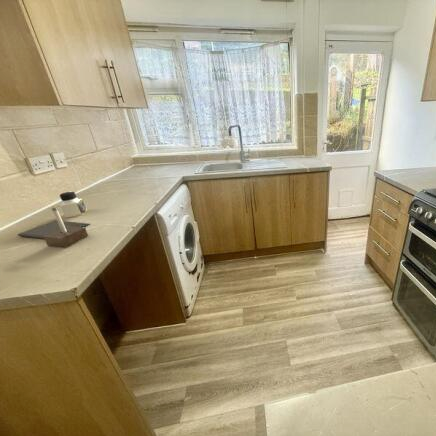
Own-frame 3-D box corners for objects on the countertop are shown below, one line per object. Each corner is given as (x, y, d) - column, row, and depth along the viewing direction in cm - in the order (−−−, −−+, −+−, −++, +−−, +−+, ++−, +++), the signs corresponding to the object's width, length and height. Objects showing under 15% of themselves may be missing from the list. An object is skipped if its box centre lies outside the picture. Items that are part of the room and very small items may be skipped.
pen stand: (65, 248, 95) (61, 238, 93) (47, 246, 97) (42, 236, 95) (89, 237, 103) (85, 227, 102) (71, 235, 106) (67, 225, 104)
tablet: (56, 240, 101) (55, 238, 101) (18, 235, 106) (17, 233, 106) (91, 225, 115) (90, 223, 114) (55, 221, 119) (55, 220, 119)
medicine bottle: (82, 215, 126) (72, 193, 120) (65, 218, 123) (54, 196, 118) (87, 210, 132) (77, 189, 127) (71, 213, 129) (61, 191, 124)
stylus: (68, 242, 100) (53, 208, 94) (65, 242, 100) (50, 208, 94) (72, 240, 101) (57, 207, 95) (69, 240, 101) (54, 206, 95)
